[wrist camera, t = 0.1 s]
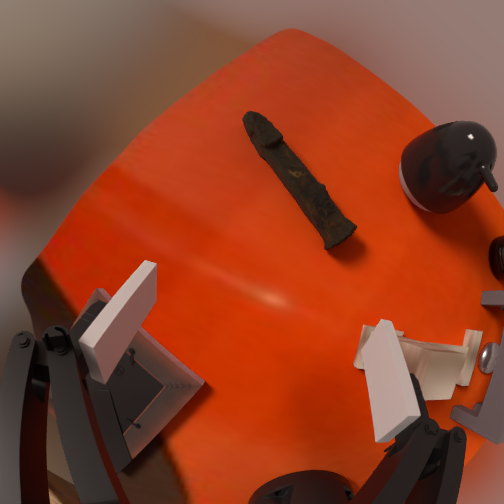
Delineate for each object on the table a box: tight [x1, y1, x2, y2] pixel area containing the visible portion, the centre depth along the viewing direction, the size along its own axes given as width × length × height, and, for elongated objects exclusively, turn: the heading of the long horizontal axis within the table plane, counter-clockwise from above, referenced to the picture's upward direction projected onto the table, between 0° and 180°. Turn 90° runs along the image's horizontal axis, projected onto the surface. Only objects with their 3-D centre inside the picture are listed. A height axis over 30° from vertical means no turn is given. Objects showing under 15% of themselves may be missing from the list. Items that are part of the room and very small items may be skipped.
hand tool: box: [242, 111, 357, 250], centre depth 30 cm, size 19×4×5 cm, turn 33°
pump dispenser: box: [399, 121, 498, 214], centre depth 25 cm, size 10×10×15 cm
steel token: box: [478, 342, 500, 374], centre depth 28 cm, size 5×5×2 cm
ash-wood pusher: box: [353, 325, 483, 400], centre depth 23 cm, size 8×20×14 cm, turn 77°
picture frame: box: [48, 288, 205, 474], centre depth 28 cm, size 16×2×22 cm
